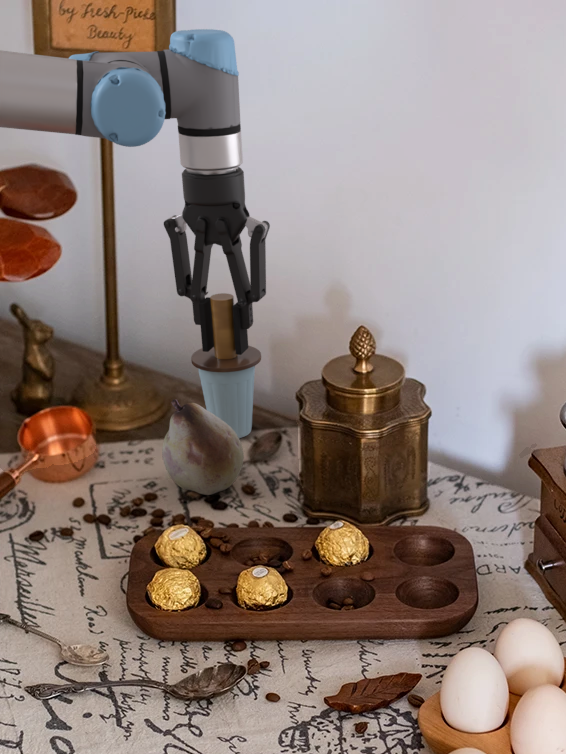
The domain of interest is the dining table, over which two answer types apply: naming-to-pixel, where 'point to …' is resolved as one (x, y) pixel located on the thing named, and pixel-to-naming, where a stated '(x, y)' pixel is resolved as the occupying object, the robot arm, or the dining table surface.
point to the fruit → (201, 450)
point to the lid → (224, 341)
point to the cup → (230, 397)
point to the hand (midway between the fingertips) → (225, 349)
